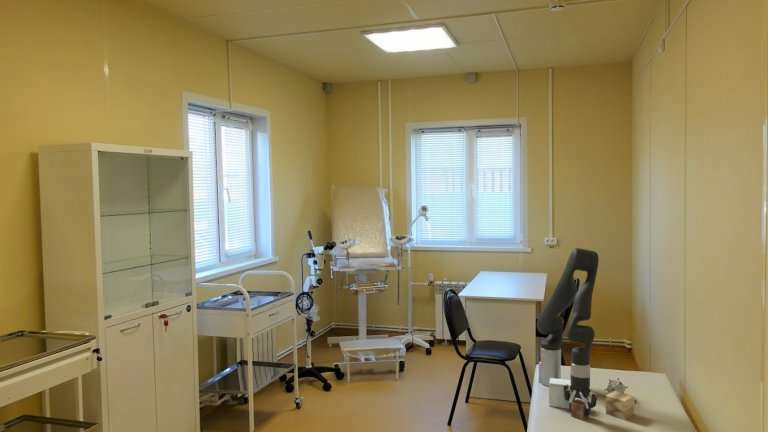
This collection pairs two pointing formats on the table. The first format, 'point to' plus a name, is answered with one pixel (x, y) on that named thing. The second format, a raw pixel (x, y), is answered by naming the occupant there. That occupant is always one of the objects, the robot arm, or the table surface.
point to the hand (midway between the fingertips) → (579, 413)
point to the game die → (615, 386)
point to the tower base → (620, 412)
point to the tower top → (619, 400)
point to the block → (578, 409)
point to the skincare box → (558, 393)
